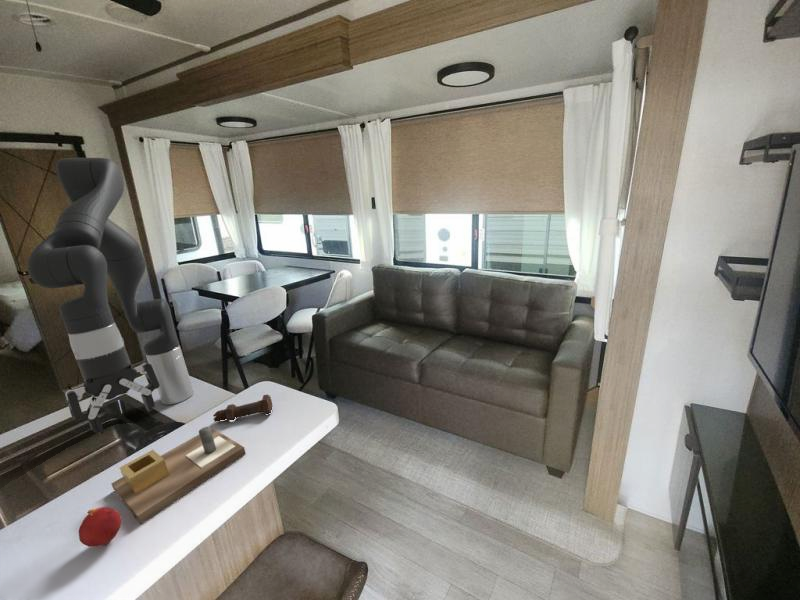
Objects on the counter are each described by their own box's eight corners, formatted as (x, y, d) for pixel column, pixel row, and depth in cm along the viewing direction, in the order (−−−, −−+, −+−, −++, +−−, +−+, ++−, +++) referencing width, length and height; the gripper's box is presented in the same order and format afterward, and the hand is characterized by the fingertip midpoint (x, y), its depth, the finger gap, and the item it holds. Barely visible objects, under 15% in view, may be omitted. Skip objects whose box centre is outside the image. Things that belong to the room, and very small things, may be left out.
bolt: (219, 427, 100) (273, 414, 103) (212, 428, 95) (269, 415, 98) (217, 406, 101) (270, 394, 104) (210, 407, 96) (266, 393, 99)
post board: (114, 490, 77) (101, 460, 75) (213, 433, 94) (205, 407, 92) (140, 524, 68) (127, 490, 65) (245, 454, 84) (238, 425, 82)
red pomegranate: (106, 529, 67) (91, 495, 65) (134, 527, 67) (120, 493, 65) (78, 558, 62) (61, 523, 60) (109, 557, 61) (93, 521, 59)
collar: (125, 482, 76) (119, 467, 75) (157, 464, 81) (152, 449, 80) (135, 494, 72) (129, 479, 71) (169, 474, 77) (164, 459, 76)
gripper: (135, 333, 76) (157, 399, 80) (46, 360, 65) (77, 435, 70) (148, 338, 72) (171, 408, 76) (55, 368, 61) (88, 447, 65)
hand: (126, 421), depth 73 cm, fingers open, 8 cm apart
